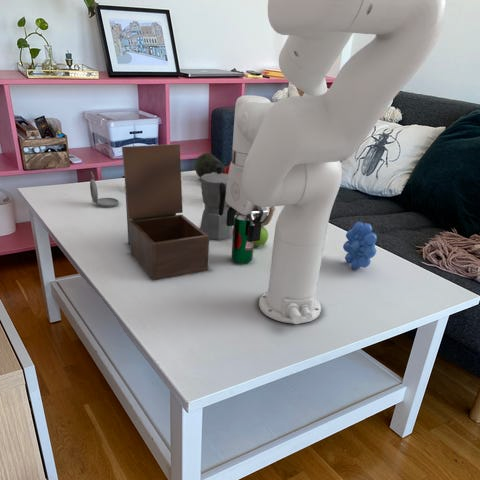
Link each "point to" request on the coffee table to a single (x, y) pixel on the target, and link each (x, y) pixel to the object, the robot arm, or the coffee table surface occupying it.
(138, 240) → the chest
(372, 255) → the grapes
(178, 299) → the coffee table surface
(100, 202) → the pocket watch
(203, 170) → the carnation
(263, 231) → the snail figurine
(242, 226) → the soda can
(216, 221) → the coffeepot
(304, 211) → the robot arm
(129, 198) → the lid
